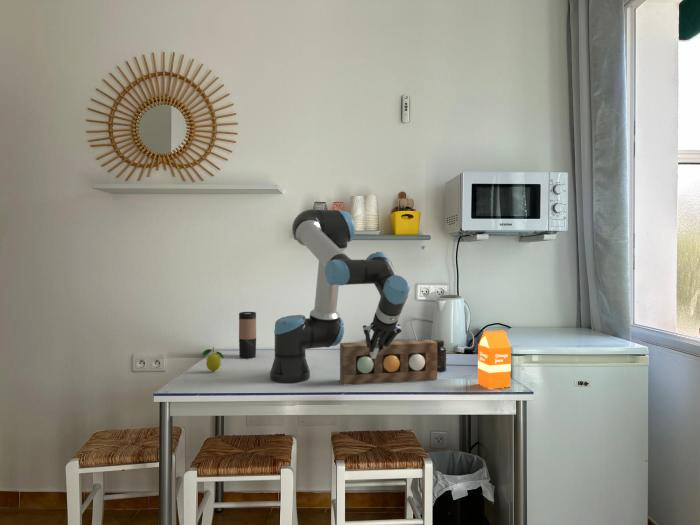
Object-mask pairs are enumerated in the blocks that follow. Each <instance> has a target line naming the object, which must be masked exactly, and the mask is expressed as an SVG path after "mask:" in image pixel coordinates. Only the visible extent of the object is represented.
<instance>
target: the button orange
mask: <svg viewBox="0 0 700 525" xmlns="http://www.w3.org/2000/svg"><path fill="white" fill-rule="evenodd" d="M399 365H400V362H399V359H398V358H397V357H396V356H394V355H392V354H387V355H385V356H384V357H383V359H382V366H383V367H384V368H385V369H386V370H387V371H389V372H394V371H396V370H397V369H398V368H399Z"/></svg>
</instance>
